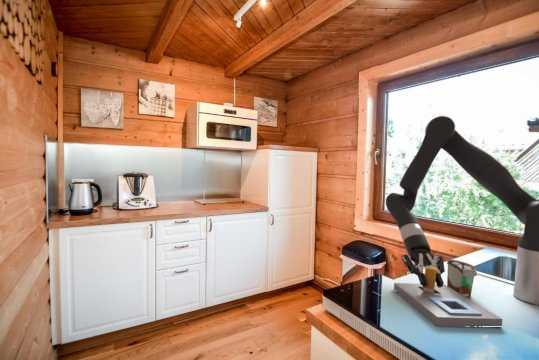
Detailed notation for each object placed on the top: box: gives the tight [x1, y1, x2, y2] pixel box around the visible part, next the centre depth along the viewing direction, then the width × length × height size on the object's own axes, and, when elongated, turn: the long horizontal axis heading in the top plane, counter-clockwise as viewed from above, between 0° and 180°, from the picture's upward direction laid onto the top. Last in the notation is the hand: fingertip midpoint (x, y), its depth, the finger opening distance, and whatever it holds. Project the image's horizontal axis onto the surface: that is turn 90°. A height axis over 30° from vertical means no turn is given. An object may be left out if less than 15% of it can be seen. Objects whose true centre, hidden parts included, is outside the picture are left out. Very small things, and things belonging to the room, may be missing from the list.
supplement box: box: [423, 265, 437, 293], centre depth 89 cm, size 3×3×10 cm
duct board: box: [393, 282, 503, 328], centre depth 83 cm, size 18×22×3 cm
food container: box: [446, 258, 478, 299], centre depth 94 cm, size 12×6×10 cm, turn 168°
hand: (433, 286), depth 87 cm, fingers closed on supplement box, 4 cm apart
